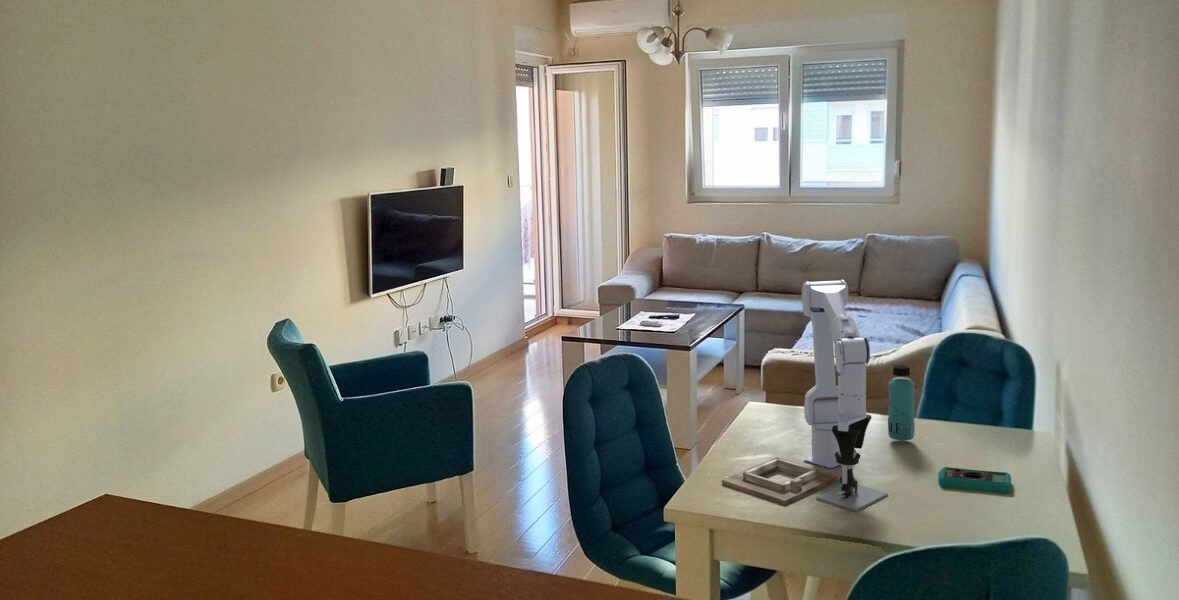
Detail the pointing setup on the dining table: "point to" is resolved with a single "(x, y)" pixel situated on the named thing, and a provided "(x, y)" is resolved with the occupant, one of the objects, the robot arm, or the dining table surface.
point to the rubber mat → (853, 498)
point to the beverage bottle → (901, 405)
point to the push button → (847, 475)
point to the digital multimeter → (975, 480)
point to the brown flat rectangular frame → (777, 491)
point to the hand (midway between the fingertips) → (852, 453)
